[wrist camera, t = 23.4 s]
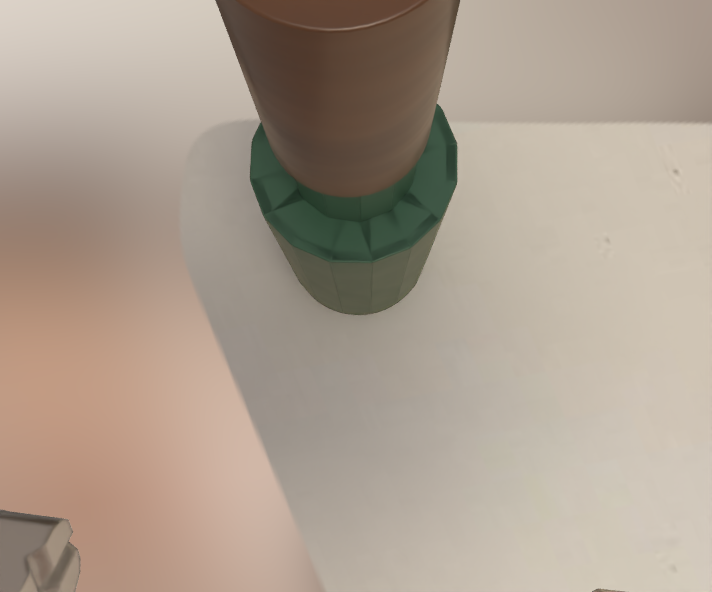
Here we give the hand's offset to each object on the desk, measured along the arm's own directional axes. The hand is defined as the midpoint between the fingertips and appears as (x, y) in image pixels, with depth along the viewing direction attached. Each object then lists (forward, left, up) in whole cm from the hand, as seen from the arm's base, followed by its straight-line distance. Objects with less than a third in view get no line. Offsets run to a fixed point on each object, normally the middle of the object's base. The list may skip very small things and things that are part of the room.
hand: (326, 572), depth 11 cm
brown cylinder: (+4, +9, -6) cm, 12 cm away
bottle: (+4, +9, -21) cm, 23 cm away
